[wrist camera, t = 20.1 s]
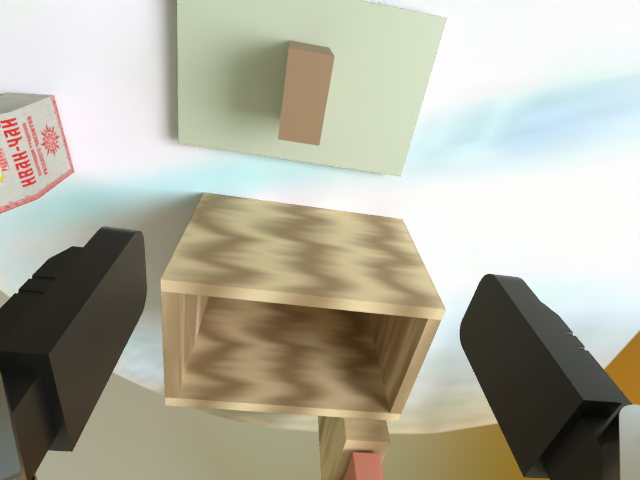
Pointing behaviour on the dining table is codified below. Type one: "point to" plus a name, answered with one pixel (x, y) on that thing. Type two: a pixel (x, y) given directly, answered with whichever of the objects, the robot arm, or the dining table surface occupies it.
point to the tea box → (30, 148)
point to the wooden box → (298, 318)
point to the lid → (304, 79)
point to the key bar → (364, 467)
